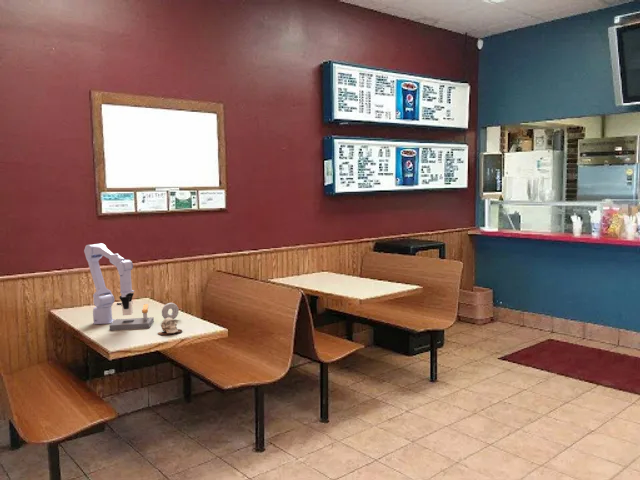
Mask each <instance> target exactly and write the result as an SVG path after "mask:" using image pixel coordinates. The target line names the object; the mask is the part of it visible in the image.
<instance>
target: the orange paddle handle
mask: <svg viewBox="0 0 640 480" xmlns="http://www.w3.org/2000/svg"><path fill="white" fill-rule="evenodd" d="M148 312H149V303H146V304H143V307H142V309H141V313H142V314H143V313H147V314H148Z"/></svg>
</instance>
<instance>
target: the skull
mask: <svg viewBox="0 0 640 480" xmlns="http://www.w3.org/2000/svg"><path fill="white" fill-rule="evenodd" d="M160 326H161V330H162V331H160V332H158V333H157V335H163V336H165V335H173V334H178V333H181V332H183V330H182V329H180V328H178V326H177V322H176V320H175V319H172V318H166V319H164V318H163V320H162V322H161V323H160Z"/></svg>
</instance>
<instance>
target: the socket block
mask: <svg viewBox="0 0 640 480" xmlns="http://www.w3.org/2000/svg"><path fill="white" fill-rule="evenodd" d="M142 315H143V317H138V318H135V317H133V318H117V319H114V321H113V322H112V323H110V324H109V331H120V330H121V331H122V330H139V329H141V330H142V329H149V328H150V327H151V326H152V325H153V324H154V322H155V321H154V317H152V316H151V317H148V312H147V313H142Z"/></svg>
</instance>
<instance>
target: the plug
mask: <svg viewBox="0 0 640 480" xmlns="http://www.w3.org/2000/svg"><path fill="white" fill-rule="evenodd" d="M133 304H134V301H133V300H132V301H129V308H128V309H124V308H123V304H122V302H117V303H116V306H120V307H122V316H130V315H132V314H133V313H134V312H133Z"/></svg>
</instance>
